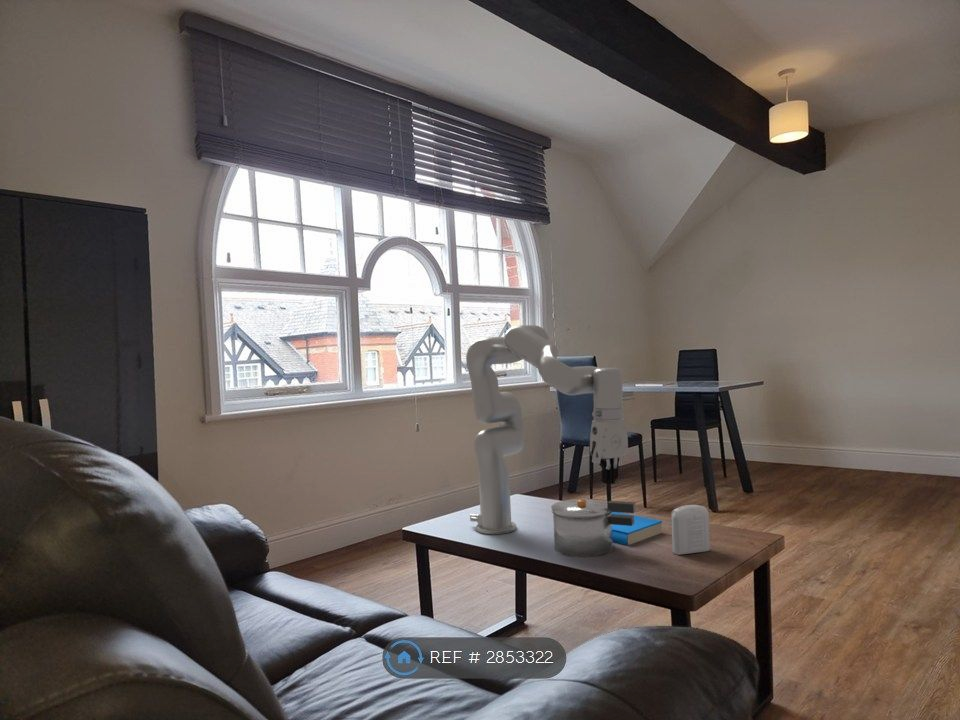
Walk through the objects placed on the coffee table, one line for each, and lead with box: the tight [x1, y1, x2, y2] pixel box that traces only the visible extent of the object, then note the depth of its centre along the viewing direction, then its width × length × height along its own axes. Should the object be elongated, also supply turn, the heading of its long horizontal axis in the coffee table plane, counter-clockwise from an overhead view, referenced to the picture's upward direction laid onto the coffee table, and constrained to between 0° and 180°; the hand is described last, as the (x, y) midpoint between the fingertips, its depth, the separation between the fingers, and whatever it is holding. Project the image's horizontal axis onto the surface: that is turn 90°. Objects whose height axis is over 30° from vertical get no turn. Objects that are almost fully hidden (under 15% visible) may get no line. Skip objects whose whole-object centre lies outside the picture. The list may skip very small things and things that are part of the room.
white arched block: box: [670, 504, 711, 556], centre depth 170 cm, size 10×4×12 cm, turn 106°
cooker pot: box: [552, 513, 634, 558], centre depth 176 cm, size 22×16×10 cm
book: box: [612, 512, 663, 546], centre depth 192 cm, size 17×4×25 cm
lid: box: [551, 498, 636, 519], centre depth 176 cm, size 23×17×3 cm
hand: (608, 482), depth 170 cm, fingers closed
